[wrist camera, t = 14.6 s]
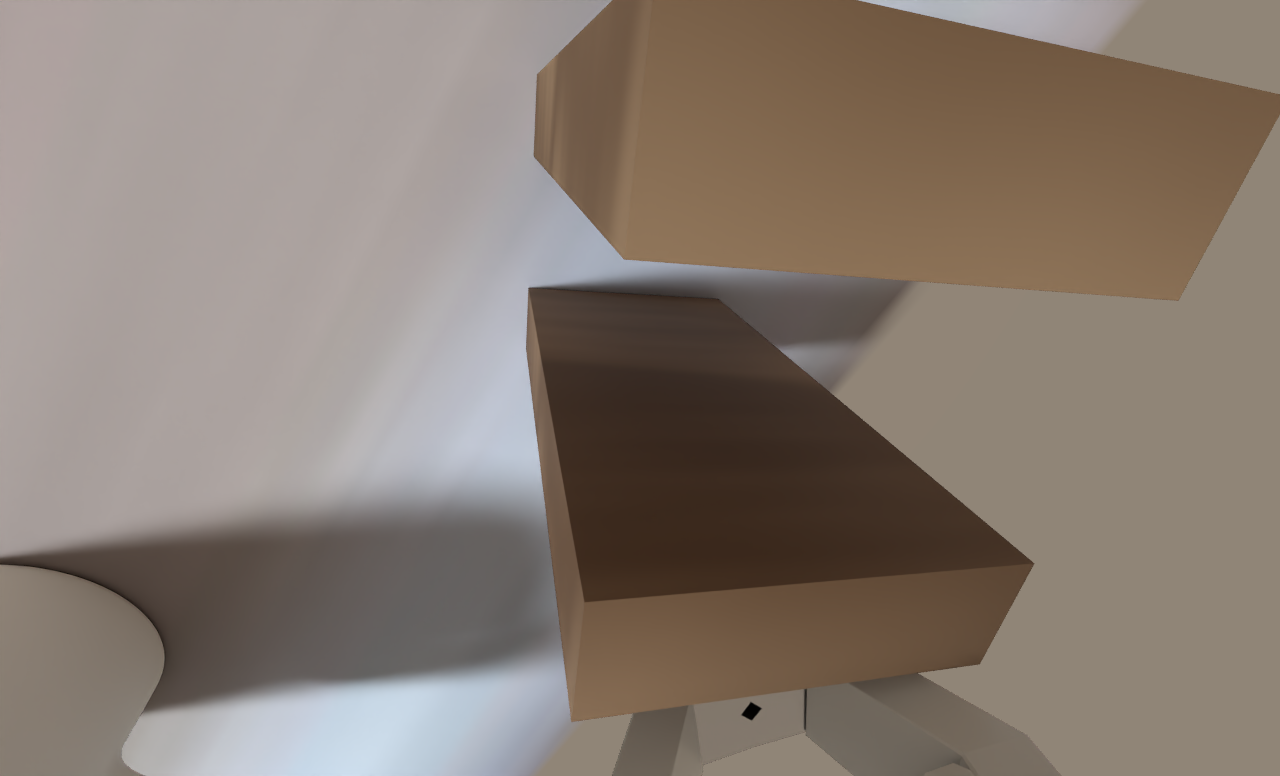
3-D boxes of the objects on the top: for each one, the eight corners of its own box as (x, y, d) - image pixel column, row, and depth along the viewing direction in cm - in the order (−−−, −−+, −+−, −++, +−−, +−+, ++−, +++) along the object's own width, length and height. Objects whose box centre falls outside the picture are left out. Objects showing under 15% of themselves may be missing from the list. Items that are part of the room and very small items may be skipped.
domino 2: (707, 354, 15) (979, 664, 7) (526, 348, 14) (571, 721, 5) (718, 298, 15) (1034, 564, 6) (528, 287, 14) (584, 602, 5)
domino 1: (740, 181, 14) (1177, 300, 5) (533, 156, 12) (624, 259, 4) (753, 108, 13) (1290, 96, 4) (536, 74, 12) (657, -44, 3)
